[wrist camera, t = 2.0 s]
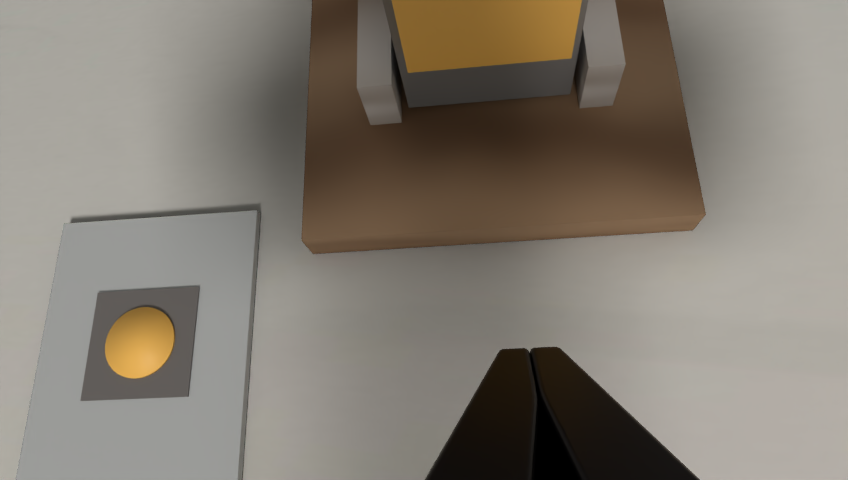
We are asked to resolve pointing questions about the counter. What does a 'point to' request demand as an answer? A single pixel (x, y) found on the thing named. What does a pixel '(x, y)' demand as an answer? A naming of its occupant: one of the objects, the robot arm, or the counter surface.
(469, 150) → the wooden block stand
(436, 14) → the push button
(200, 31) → the counter surface
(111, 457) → the pattern card
